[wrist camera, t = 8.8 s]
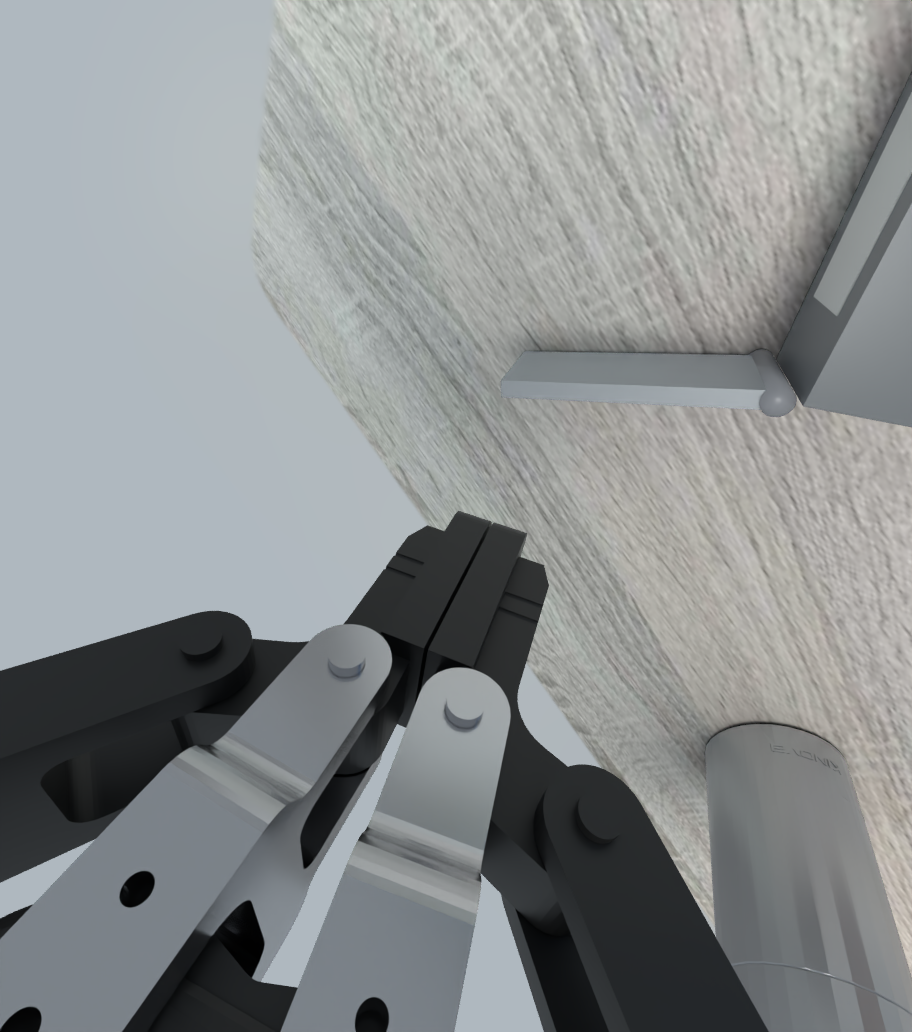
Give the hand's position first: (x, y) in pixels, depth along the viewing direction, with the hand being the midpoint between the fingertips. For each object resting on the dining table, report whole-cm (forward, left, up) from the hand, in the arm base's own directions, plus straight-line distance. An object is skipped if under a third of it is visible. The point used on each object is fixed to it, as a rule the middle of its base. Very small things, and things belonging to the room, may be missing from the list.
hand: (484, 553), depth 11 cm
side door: (-1, -3, -19) cm, 19 cm away
